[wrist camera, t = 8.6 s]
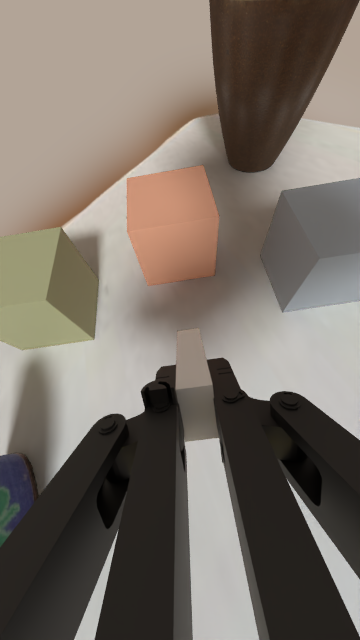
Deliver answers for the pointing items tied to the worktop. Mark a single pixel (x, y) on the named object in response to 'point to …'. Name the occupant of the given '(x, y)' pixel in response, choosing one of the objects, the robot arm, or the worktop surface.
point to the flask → (15, 491)
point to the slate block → (315, 246)
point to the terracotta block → (173, 225)
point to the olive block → (45, 291)
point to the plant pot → (270, 69)
